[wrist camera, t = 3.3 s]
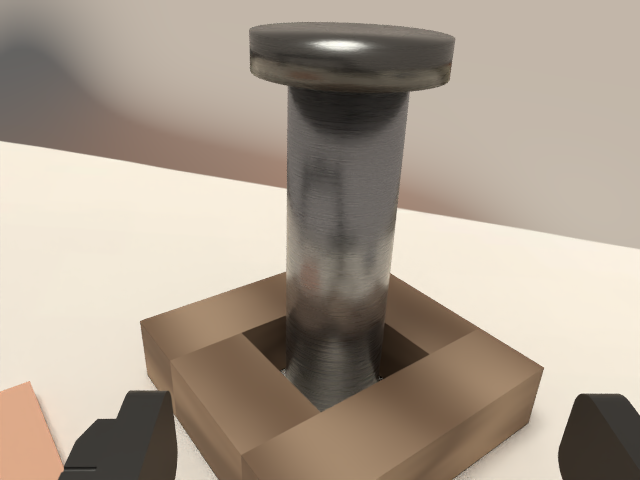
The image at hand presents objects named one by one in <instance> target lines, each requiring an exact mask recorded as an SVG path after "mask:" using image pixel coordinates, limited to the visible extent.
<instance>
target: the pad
mask: <svg viewBox="0 0 640 480" xmlns="http://www.w3.org/2000/svg"><path fill="white" fill-rule="evenodd" d="M63 471H64V467H63V464H62V462H61V459H60V457H59V454H58V452H57V449H56V446H55V444H54V441H53V439H52V436H51V434H50V431H49V429H48V426H47V424H46V421H45V419H44V416H43V414H42V411H41V409H40V406H39V404H38V401H37V399H36V396H35V393H34V391H33V388H32V386H31V383H30V381H29V382H26V383H23V384H20V385H18V386H15V387H12V388H9V389H7V390H4V391H1V392H0V480H58V478H59V476H60V474H61V472H63Z"/></svg>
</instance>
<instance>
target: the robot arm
mask: <svg viewBox="0 0 640 480" xmlns="http://www.w3.org/2000/svg"><path fill="white" fill-rule="evenodd" d="M558 462H559V468H560V472H561V476H562V479H563V480H640V415H639V414H638V412H637V411H636V410H635V408H634V407H633V406H632V404H631V403H630V402H629V401H628V399H627V398H626V397H624V396H623V395H621V394H580V395H578V396H577V398H576V399H575V401H574V404H573V407H572V410H571V413H570V416H569V419H568V422H567V425H566V428H565V431H564V434H563V437H562V440H561V443H560V446H559V452H558ZM176 468H177V440H176V431H175V423H174V414H173V406H172V398H171V393H170V392H169V391H129V392H128V393H127V394H126V396H125V399H124V401H123V404H122V406H121V408H120V411H119V413H118V416H117V418H116V419H97V420H96V421H95V422H94V423H93V424H92V425H91V426H90V427H89V428H88V429H87V430H86V431H85V432H84V433H83V434H82V435H81V436H80V437H79V438H78V439H77V440H76V442H75V444H74V446H73V448H72V450H71V452H70V455H69V457H68V459H67V461H66V463H65V465H64V471H63V472H61V474H60V476H59V478H58V480H175V476H176Z"/></svg>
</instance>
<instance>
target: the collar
mask: <svg viewBox="0 0 640 480" xmlns="http://www.w3.org/2000/svg"><path fill="white" fill-rule="evenodd" d="M140 324H141V332H142V339H143V346H144V353H145V360H146V367H147V374H148V376H149V377H150V379H151V380H152V382H153V383H154V385H155V386H156V388H157V389H158V391H169V392H170V393H171V398H172V406H173V413H174V414H175V416H176V417H177V419H178V420H179V422H180V423H181V425H182V426H183V428H184V429H185V431H186V432H187V433H188V435H189V436H190V438H191V439H192V441H193V442H194V444H195V445H196V447H197V448H198V450H199V451H200V453H201V454H202V456H203V457H204V459H205V460H206V462H207V463H208V464H209V466H210V467H211V469H212V470H213V472H214V473H215V475H216V476H217V478H218V479H219V480H452V479H453V478H455V477H456V476H457V475H459V474H460V473H461V472H463V471H464V470H465V469H467V468H468V467H469V466H471V465H472V464H474V463H475V462H476V461H478V460H479V459H480V458H482V457H483V456H484V455H486V454H487V453H488V452H490V451H491V450H492V449H494V448H495V447H496V446H498V445H499V444H500V443H502V442H503V441H504V440H506V439H507V438H509V437H510V436H511V435H513V434H514V433H515V432H517V431H518V430H519V429H521V428H522V427H523V426H525V425H526V424H527V423H528V422H529V419H530V415H531V412H532V408H533V405H534V401H535V398H536V394H537V391H538V387H539V384H540V380H541V377H542V373H543V370H544V367H542V366H540V365H539V364H537V363H536V362H534V361H532V360H531V359H529V358H527V357H526V356H524V355H523V354H521V353H519V352H518V351H516V350H514V349H513V348H511V347H510V346H508V345H506V344H505V343H503V342H501V341H500V340H498V339H496V338H495V337H493V336H492V335H490V334H488V333H487V332H485V331H483V330H482V329H480V328H479V327H477V326H475V325H474V324H472V323H470V322H469V321H467V320H465V319H464V318H462V317H461V316H459V315H457V314H456V313H454V312H452V311H451V310H449V309H448V308H446V307H444V306H443V305H441V304H439V303H438V302H436V301H435V300H433V299H431V298H430V297H428V296H426V295H425V294H423V293H421V292H420V291H418V290H417V289H415V288H413V287H412V286H410V285H408V284H407V283H405V282H404V281H402V280H400V279H399V278H397V277H395V276H394V275H392V274H391V273H390V278H389V287H388V296H387V305H386V315H385V324H384V333H383V342H382V352H381V361H380V370H379V375H380V376H381V377H382V378H384V379H383V380H381V381H379V382H377V383H375V384H373V385H372V386H370V387H368V388H366V389H364V390H362V391H360V392H358V393H357V394H355V395H353V396H351V397H349V398H347V399H345V400H343V401H342V402H340V403H338V404H336V405H334V406H332V407H330V408H328V409H326V410H325V411H323V412H320V411H319V410H318V409H317V408H316V407H315V406H314V405H313V404H312V403H311V402H310V401H309V400H308V399H307V398H306V397H305V396H304V395H303V394H302V393H301V392H300V391H299V390H298V389H297V388H296V387H295V386H294V385H293V384H292V383H291V382H290V381H289V380H288V379H287V378H286V377H285V376H284V375H283V374H282V373H281V372H280V371H279V370H282V369H284V368H286V272H284V273H281V274H278V275H275V276H272V277H269V278H266V279H263V280H260V281H257V282H254V283H251V284H248V285H245V286H242V287H239V288H236V289H233V290H230V291H227V292H224V293H221V294H219V295H216V296H213V297H210V298H207V299H204V300H201V301H198V302H195V303H192V304H189V305H186V306H183V307H180V308H177V309H174V310H171V311H168V312H165V313H162V314H159V315H156V316H153V317H150V318H147V319H144V320H142V321H140Z"/></svg>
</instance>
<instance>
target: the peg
mask: <svg viewBox="0 0 640 480" xmlns="http://www.w3.org/2000/svg"><path fill="white" fill-rule="evenodd" d="M249 35H250V36H249V37H250V71H251V73H252V74H253V75H254V76H257V77H258V78H261V79H263V80H266V81H270V82H273V83H278V84H283V85H287V86H288V129H287V263H286V378H287V379H288V380H289V381H290V382H291V383H292V384H293V385H294V386H295V387H296V388H297V389H298V390H299V391H300V392H301V393H302V394H303V395H304V396H305V397H306V398H307V399H308V400H309V401H310V402H311V403H312V404H313V405H314V406H315V407H316V408H317V409H318V410H319V411H320V412H323V411H325V410H326V409H328V408H330V407H332V406H334V405H336V404H338V403H340V402H342V401H343V400H345V399H347V398H349V397H351V396H353V395H355V394H357V393H358V392H360V391H362V390H364V389H366V388H368V387H370V386H372V385H373V384H375V383H377V382H378V379H379V370H380V361H381V352H382V342H383V333H384V324H385V315H386V305H387V296H388V287H389V278H390V269H391V259H392V250H393V241H394V232H395V223H396V213H397V204H398V195H399V186H400V175H401V167H402V157H403V149H404V139H405V129H406V121H407V112H408V102H409V93H410V91H418V90H425V89H431V88H435V87H439V86H442V85H444V84H446V83H448V81H449V80H450V73H451V66H452V58H453V51H454V44H455V38H454V37H453V36H451V35H448V34H444V33H441V32H436V31H431V30H425V29H418V28H409V27H401V26H390V25H377V24H360V23H334V22H299V23H298V22H297V23H279V24H278V23H277V24H267V25H260V26H256V27H252V28H250V30H249Z"/></svg>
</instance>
